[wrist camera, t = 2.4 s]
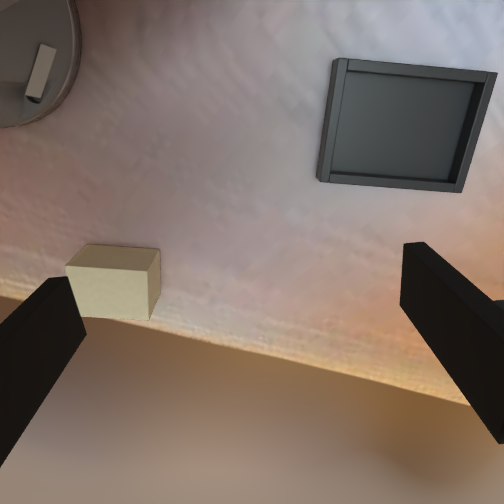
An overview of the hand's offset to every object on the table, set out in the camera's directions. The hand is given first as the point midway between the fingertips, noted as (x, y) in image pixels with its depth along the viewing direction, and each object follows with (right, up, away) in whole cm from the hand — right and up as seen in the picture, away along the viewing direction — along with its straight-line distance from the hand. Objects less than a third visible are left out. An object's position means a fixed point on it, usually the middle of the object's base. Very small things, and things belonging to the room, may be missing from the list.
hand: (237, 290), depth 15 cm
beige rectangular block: (-12, 0, +23) cm, 26 cm away
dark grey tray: (+13, +12, +18) cm, 25 cm away
